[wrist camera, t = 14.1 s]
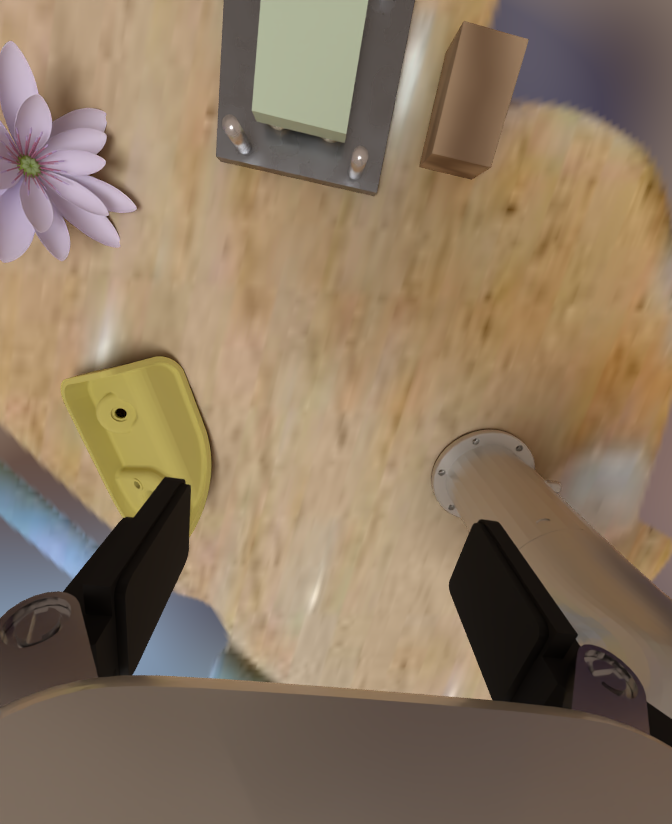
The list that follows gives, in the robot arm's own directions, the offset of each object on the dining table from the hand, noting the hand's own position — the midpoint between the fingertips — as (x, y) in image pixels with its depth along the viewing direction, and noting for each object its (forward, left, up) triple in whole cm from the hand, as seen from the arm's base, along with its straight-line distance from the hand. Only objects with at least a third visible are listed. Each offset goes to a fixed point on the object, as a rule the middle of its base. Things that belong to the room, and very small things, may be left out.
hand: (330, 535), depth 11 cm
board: (+5, -23, -25) cm, 34 cm away
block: (-8, -22, -28) cm, 37 cm away
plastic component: (+18, +14, -29) cm, 37 cm away
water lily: (+24, -10, -29) cm, 39 cm away
